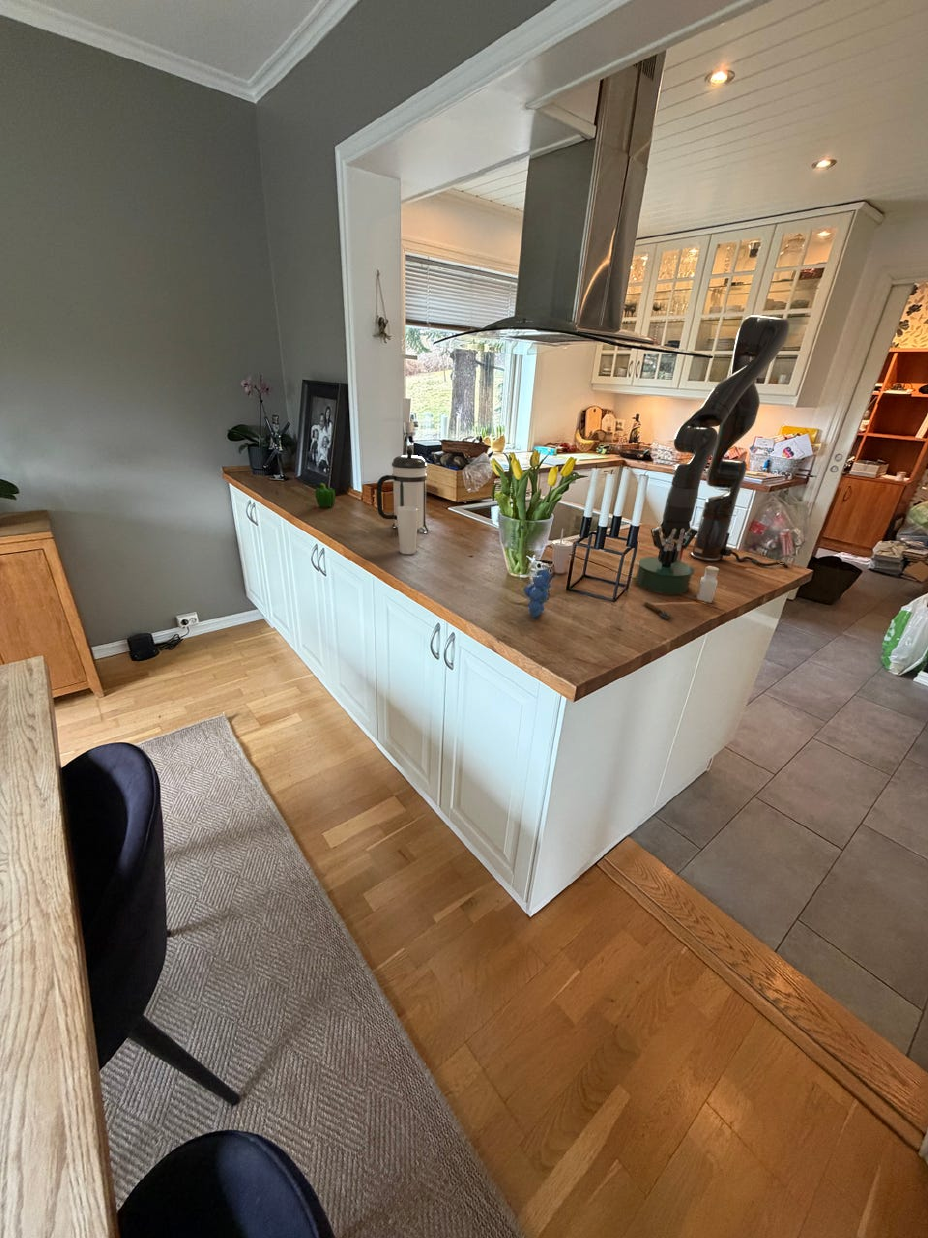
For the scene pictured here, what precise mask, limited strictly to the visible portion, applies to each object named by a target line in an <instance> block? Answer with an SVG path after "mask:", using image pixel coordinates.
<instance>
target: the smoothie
mask: <svg viewBox="0 0 928 1238" xmlns="http://www.w3.org/2000/svg"><path fill="white" fill-rule="evenodd" d="M564 531H565V529H564V528H561V532H560V539H555V540H552V541H551V547H552V565H553V564H554V566H555V572H554V573H556V574H564V573H566V569H567V566H568V563H569V558H570V555H571V551H572V548H574V547H573V546H574V543H573V542H572V541H569V540H566V539H563V538H564Z"/></svg>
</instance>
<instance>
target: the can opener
mask: <svg viewBox="0 0 928 1238" xmlns="http://www.w3.org/2000/svg"><path fill="white" fill-rule="evenodd" d="M644 605H645V607H646V608H648V609H650V610H652V611H655V612H656V613H658V614H659V616H660V617H662V618H663V619H667V620H669V619H670V618H671V615H670V614H669V613H668V612H667V611H663V610H662V609H661V608H658V607H657V606H655V605H654V604H653V603H651V602H648V601H646V602H645V603H644Z"/></svg>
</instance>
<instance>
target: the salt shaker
mask: <svg viewBox="0 0 928 1238" xmlns="http://www.w3.org/2000/svg"><path fill="white" fill-rule="evenodd" d="M719 571H720V568H718V567H716V566H712V565H708V566H706V567H705V571H704V575H703V576H701V577H700V580H699V584H698V587H697V591H696V593H695V594H696V600H699V601H702V602H704V603H709V604H710V603H712V602H713V600H714V598H715V597H714V596H715V593H716V590H717V586H718V579H717V577H718V574H719Z"/></svg>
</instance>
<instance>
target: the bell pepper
mask: <svg viewBox="0 0 928 1238" xmlns="http://www.w3.org/2000/svg"><path fill="white" fill-rule="evenodd" d="M319 486H321V487H317V488H315V492H314V493H315V499H316V502H317V505H318V506H319V507H321V508H322V509H323V508H324V509H327V508H330V507H334V506H335V502H336V491H335V489H334V488H332V487H327V488H326V484H325V483H322V482H321V483H319ZM330 505H331V506H330Z"/></svg>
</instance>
